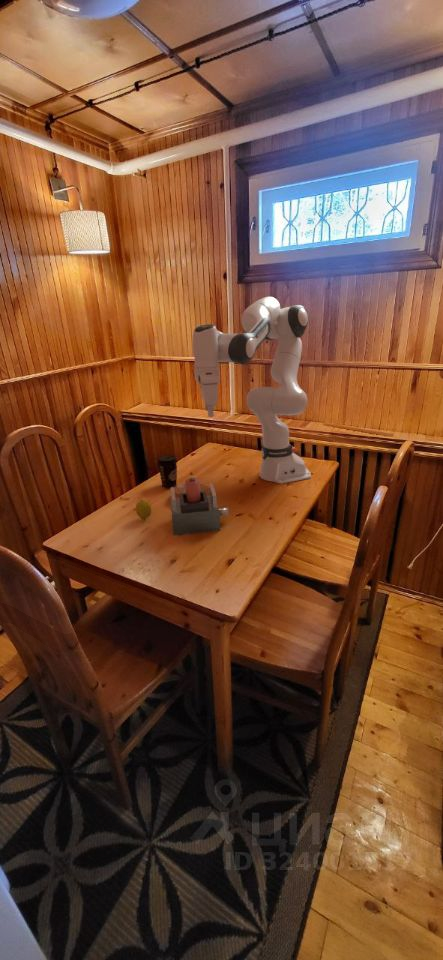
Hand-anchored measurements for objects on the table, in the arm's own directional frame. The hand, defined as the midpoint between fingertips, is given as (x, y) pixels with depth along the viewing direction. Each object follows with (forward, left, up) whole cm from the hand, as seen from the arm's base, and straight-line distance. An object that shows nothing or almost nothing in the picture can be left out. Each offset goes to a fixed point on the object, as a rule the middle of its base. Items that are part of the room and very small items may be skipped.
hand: (209, 413), depth 149 cm
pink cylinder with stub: (+10, +18, -27) cm, 34 cm away
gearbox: (+7, +18, -35) cm, 40 cm away
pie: (+9, -3, -36) cm, 37 cm away
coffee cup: (+17, -18, -35) cm, 43 cm away
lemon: (+27, +10, -35) cm, 46 cm away
